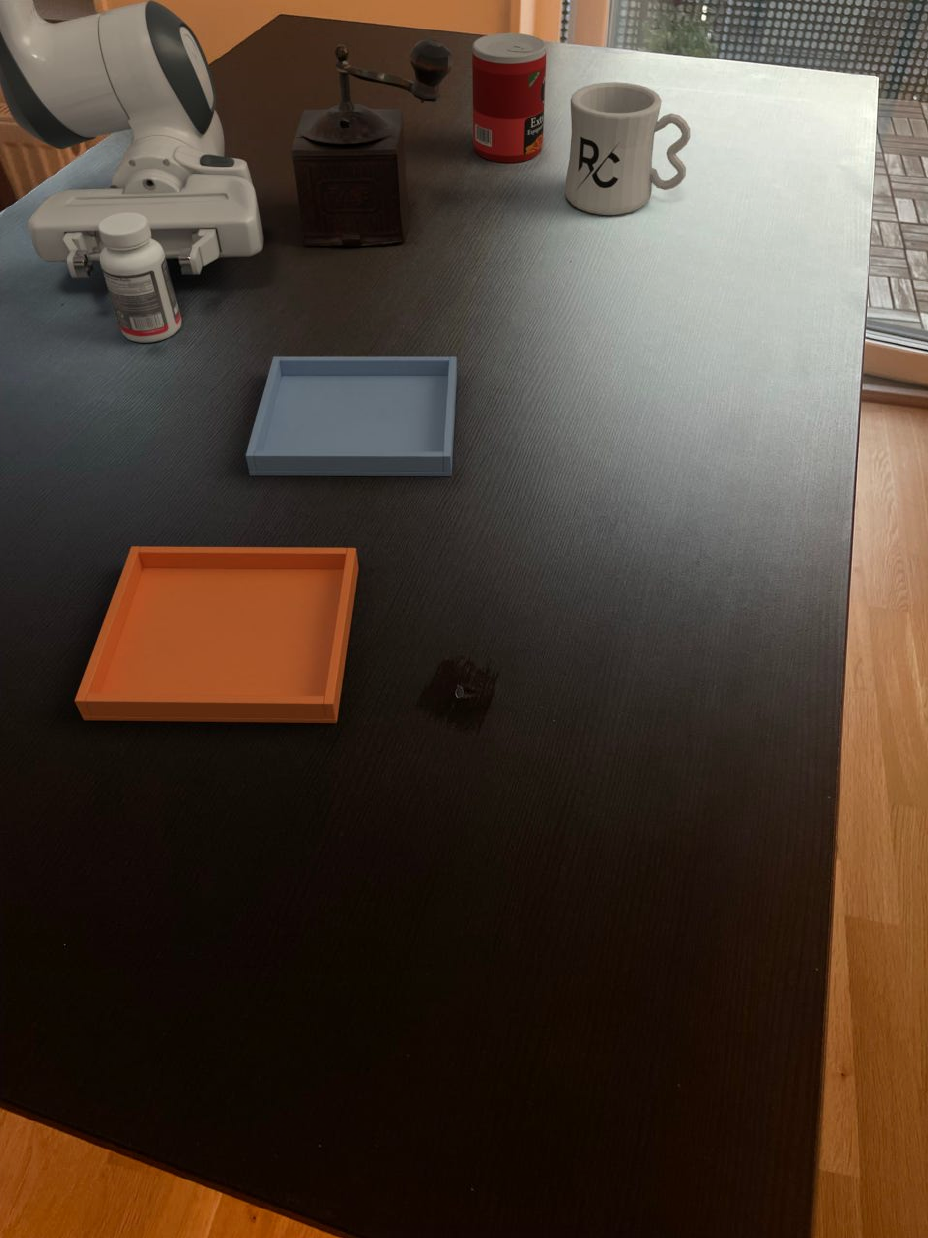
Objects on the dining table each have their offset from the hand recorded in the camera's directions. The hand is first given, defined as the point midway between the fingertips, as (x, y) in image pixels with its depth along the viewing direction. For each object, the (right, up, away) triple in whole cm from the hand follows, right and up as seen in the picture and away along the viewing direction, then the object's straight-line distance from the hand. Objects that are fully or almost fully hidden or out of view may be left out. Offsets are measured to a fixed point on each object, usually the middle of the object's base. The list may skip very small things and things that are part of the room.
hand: (133, 268), depth 85 cm
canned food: (+33, +24, +30) cm, 50 cm away
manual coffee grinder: (+20, +11, +18) cm, 29 cm away
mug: (+45, +14, +20) cm, 51 cm away
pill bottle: (0, -4, +5) cm, 6 cm away
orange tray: (+13, -31, -21) cm, 40 cm away
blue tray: (+20, -14, -5) cm, 25 cm away
